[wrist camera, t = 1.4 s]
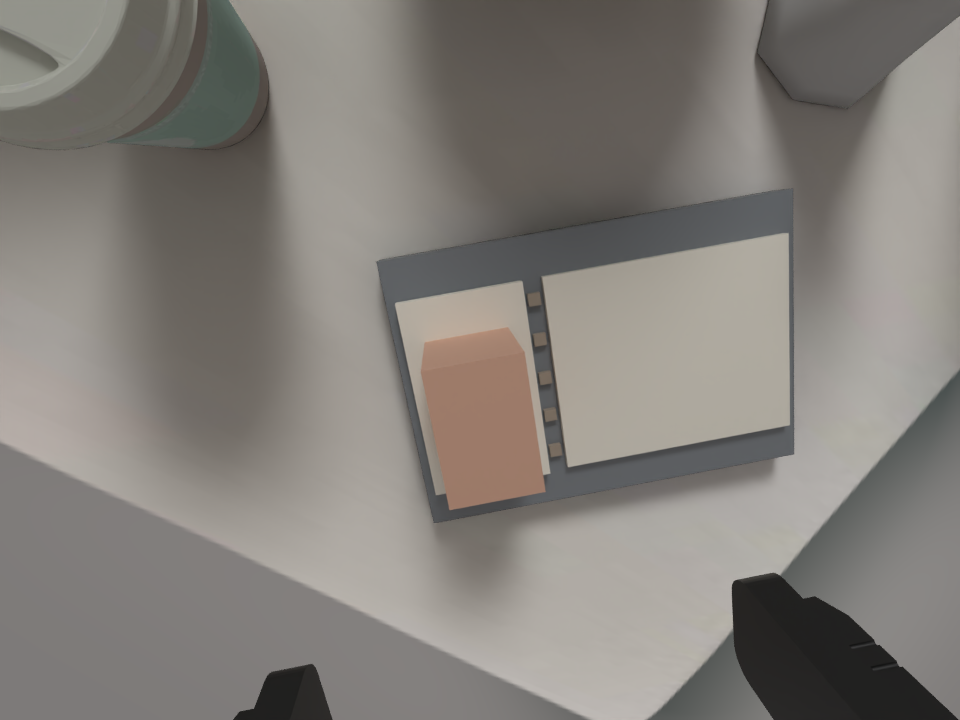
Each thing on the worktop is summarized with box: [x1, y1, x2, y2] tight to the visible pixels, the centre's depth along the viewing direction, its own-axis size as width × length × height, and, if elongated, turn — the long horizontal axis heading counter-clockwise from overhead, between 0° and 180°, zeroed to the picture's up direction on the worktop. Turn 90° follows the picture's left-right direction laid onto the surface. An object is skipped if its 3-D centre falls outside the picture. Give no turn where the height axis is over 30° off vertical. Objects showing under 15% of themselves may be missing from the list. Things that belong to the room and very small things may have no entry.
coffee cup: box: [0, 0, 269, 150], centre depth 17 cm, size 8×9×12 cm
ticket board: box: [377, 189, 794, 523], centre depth 26 cm, size 20×14×2 cm
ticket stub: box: [395, 280, 550, 510], centre depth 23 cm, size 6×10×6 cm, turn 10°
